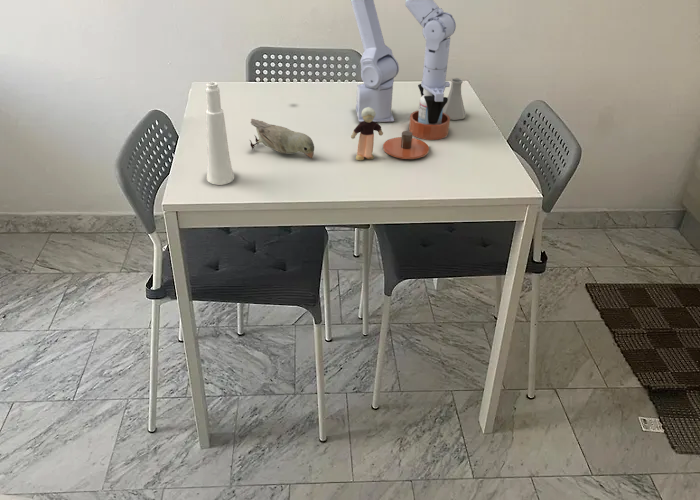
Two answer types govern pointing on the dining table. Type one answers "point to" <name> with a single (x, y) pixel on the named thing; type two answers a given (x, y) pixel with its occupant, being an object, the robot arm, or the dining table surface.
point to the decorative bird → (282, 139)
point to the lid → (406, 147)
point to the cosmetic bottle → (217, 139)
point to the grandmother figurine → (366, 134)
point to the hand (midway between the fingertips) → (430, 117)
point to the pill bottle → (424, 112)
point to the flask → (455, 101)
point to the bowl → (429, 127)
